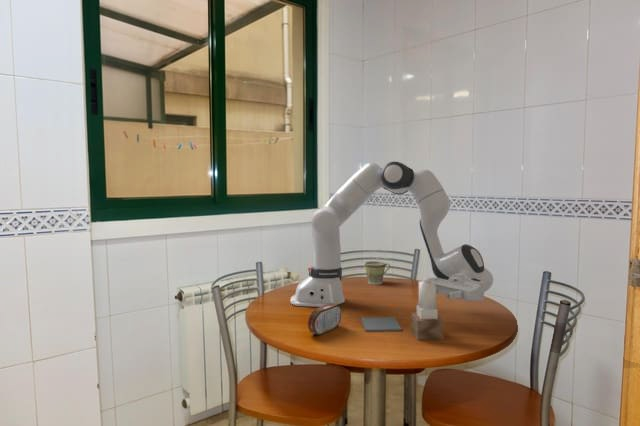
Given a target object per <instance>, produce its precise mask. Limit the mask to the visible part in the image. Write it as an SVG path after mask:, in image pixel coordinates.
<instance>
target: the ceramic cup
mask: <svg viewBox="0 0 640 426" xmlns="http://www.w3.org/2000/svg"><path fill="white" fill-rule="evenodd" d="M364 265H365V272H366V278H367V283H368V284H369V285H374V286H377V285H382V284H383V281H384V280H383V279H384V275H385V274H386V273H387V272H388V270H390V268H391V264H390V263H387V262H384V261H380V260H378V261H377V260H371V261H366V262H364ZM387 266H388V268H387V269H385V268H386V267H387Z"/></svg>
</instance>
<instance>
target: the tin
mask: <svg viewBox="0 0 640 426" xmlns="http://www.w3.org/2000/svg"><path fill="white" fill-rule="evenodd" d="M341 320H342V308H341V307H340V305H339V304H337V305H335V304H333V303H330V304H327V305H324V306H321V307H316V308H314V309H313V310H312V311H311V313H310V315H309V317H308V321H307V325H308V326H307V328H308V330H309V332H310V333H311V334H315V335H318V336H321V335H323V334H325V333H328V332H330V331H332V330H335V329H336V328H337V327H338V326H339V325H340V322H341Z"/></svg>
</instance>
